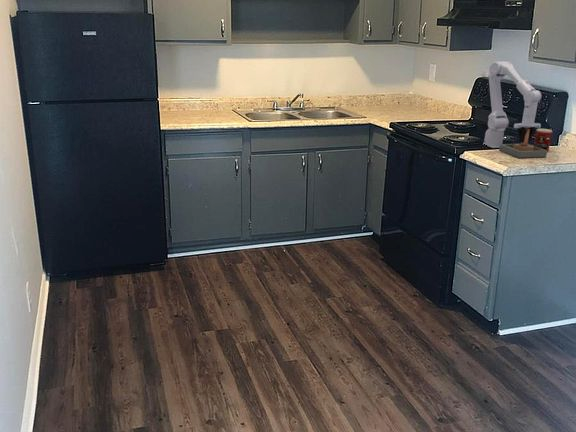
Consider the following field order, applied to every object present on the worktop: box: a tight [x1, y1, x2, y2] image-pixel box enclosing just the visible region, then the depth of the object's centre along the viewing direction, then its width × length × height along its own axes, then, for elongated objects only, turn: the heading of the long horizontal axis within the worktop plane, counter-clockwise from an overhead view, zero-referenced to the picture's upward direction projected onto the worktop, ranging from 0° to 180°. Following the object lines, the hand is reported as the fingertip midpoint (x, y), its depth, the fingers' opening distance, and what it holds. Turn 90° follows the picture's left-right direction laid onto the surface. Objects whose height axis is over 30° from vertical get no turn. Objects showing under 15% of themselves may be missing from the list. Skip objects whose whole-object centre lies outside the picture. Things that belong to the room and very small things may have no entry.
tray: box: [499, 143, 548, 160], centre depth 298 cm, size 16×16×5 cm
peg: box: [520, 129, 530, 146], centre depth 296 cm, size 3×3×9 cm
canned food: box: [533, 128, 553, 153], centre depth 307 cm, size 8×8×11 cm
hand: (524, 141), depth 297 cm, fingers closed on peg, 3 cm apart
